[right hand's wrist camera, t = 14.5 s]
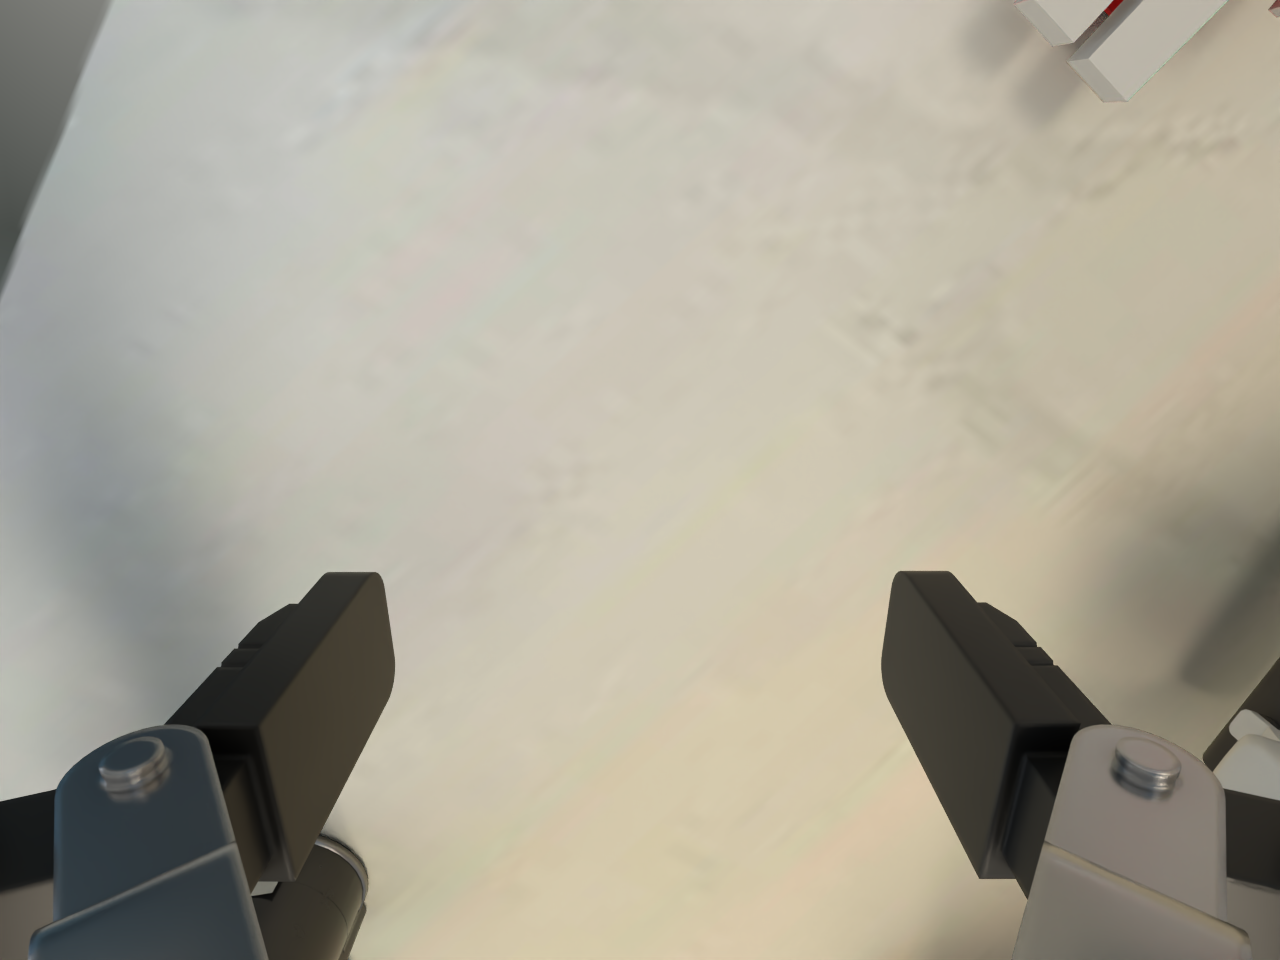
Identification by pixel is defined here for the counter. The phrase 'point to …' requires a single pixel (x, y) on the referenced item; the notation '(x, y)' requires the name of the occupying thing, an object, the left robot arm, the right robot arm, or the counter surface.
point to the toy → (1121, 37)
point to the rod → (1270, 698)
